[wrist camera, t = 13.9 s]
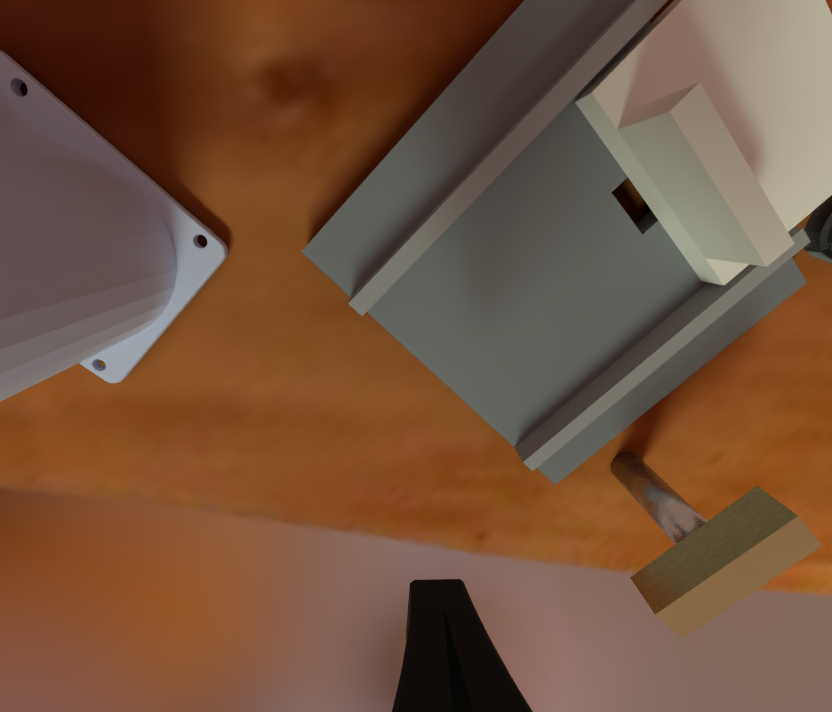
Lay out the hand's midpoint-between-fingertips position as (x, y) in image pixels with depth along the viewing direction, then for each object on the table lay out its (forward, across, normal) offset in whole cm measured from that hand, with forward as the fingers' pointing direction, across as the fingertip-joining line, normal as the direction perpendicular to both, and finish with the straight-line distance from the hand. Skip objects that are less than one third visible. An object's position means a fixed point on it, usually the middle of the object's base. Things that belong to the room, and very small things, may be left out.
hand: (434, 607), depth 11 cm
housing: (+9, -6, -8) cm, 14 cm away
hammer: (+9, -12, +2) cm, 15 cm away
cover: (+8, -11, -14) cm, 19 cm away
